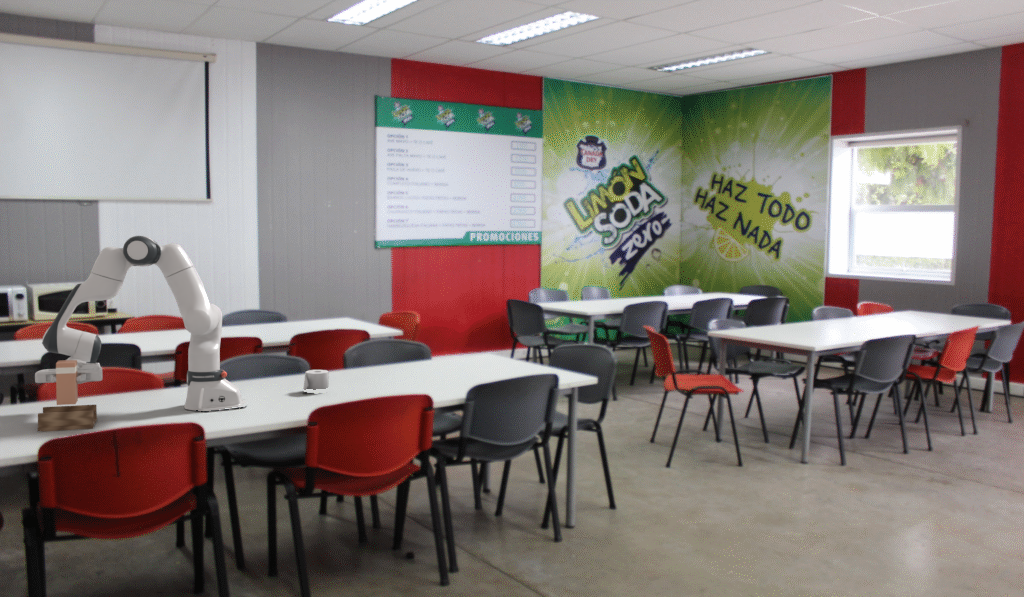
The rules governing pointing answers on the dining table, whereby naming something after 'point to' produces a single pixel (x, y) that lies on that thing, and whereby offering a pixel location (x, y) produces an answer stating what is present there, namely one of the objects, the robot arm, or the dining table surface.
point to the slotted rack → (67, 418)
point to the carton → (66, 382)
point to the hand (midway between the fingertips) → (66, 379)
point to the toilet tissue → (316, 379)
